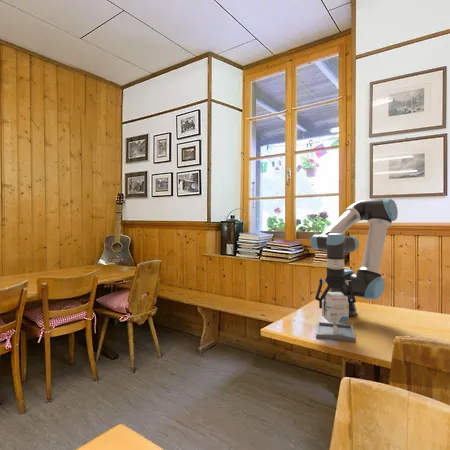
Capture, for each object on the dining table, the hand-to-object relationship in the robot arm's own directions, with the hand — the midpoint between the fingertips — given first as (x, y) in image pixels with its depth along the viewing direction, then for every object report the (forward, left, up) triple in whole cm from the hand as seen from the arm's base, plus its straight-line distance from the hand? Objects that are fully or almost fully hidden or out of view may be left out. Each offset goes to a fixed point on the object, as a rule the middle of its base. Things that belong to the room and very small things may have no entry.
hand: (335, 316), depth 146 cm
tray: (0, 0, -8) cm, 8 cm away
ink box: (0, 0, -2) cm, 2 cm away
